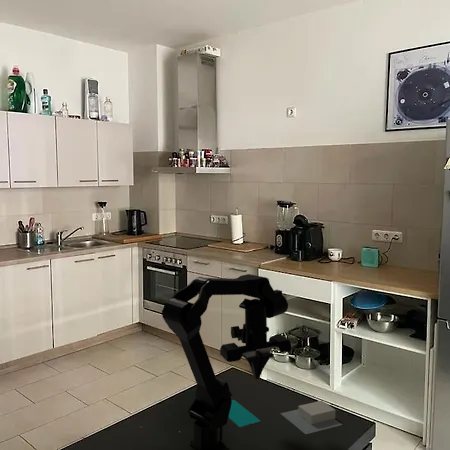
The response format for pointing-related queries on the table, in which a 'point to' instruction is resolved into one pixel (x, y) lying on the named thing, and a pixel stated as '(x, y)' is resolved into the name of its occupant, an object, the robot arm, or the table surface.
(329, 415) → the box
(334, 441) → the table surface
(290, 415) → the mat
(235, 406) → the flat teal tile
